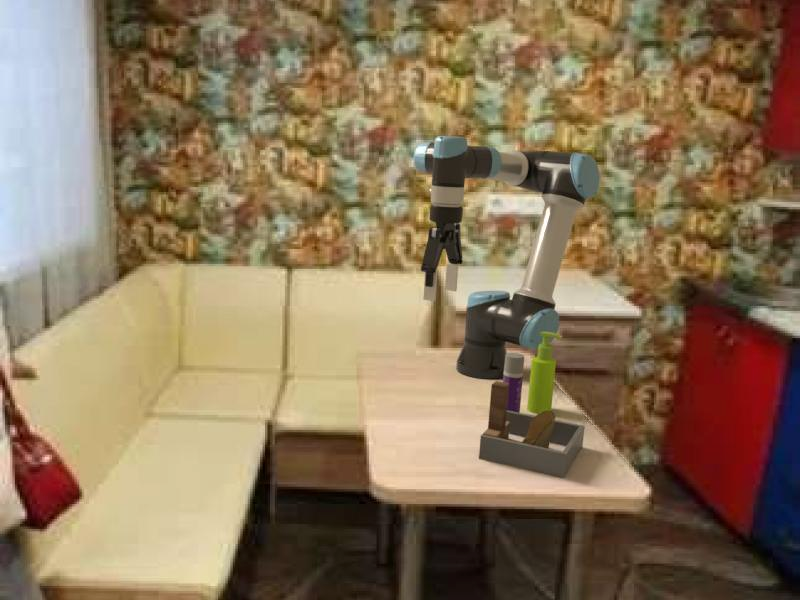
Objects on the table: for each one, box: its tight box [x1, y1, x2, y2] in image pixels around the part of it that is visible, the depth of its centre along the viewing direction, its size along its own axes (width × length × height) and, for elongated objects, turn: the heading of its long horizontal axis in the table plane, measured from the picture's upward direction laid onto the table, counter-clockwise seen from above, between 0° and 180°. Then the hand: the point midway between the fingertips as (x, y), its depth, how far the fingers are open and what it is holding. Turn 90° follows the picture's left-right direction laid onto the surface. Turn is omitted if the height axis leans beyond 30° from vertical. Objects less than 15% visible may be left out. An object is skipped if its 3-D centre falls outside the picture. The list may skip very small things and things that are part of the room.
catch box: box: [478, 410, 586, 478], centre depth 170 cm, size 18×18×5 cm
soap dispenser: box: [526, 331, 564, 415], centre depth 194 cm, size 6×7×20 cm
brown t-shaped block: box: [482, 380, 510, 440], centre depth 172 cm, size 10×3×14 cm, turn 155°
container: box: [502, 352, 525, 413], centre depth 191 cm, size 5×5×15 cm
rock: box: [521, 409, 557, 449], centre depth 169 cm, size 11×9×10 cm
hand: (440, 295), depth 186 cm, fingers open, 13 cm apart
